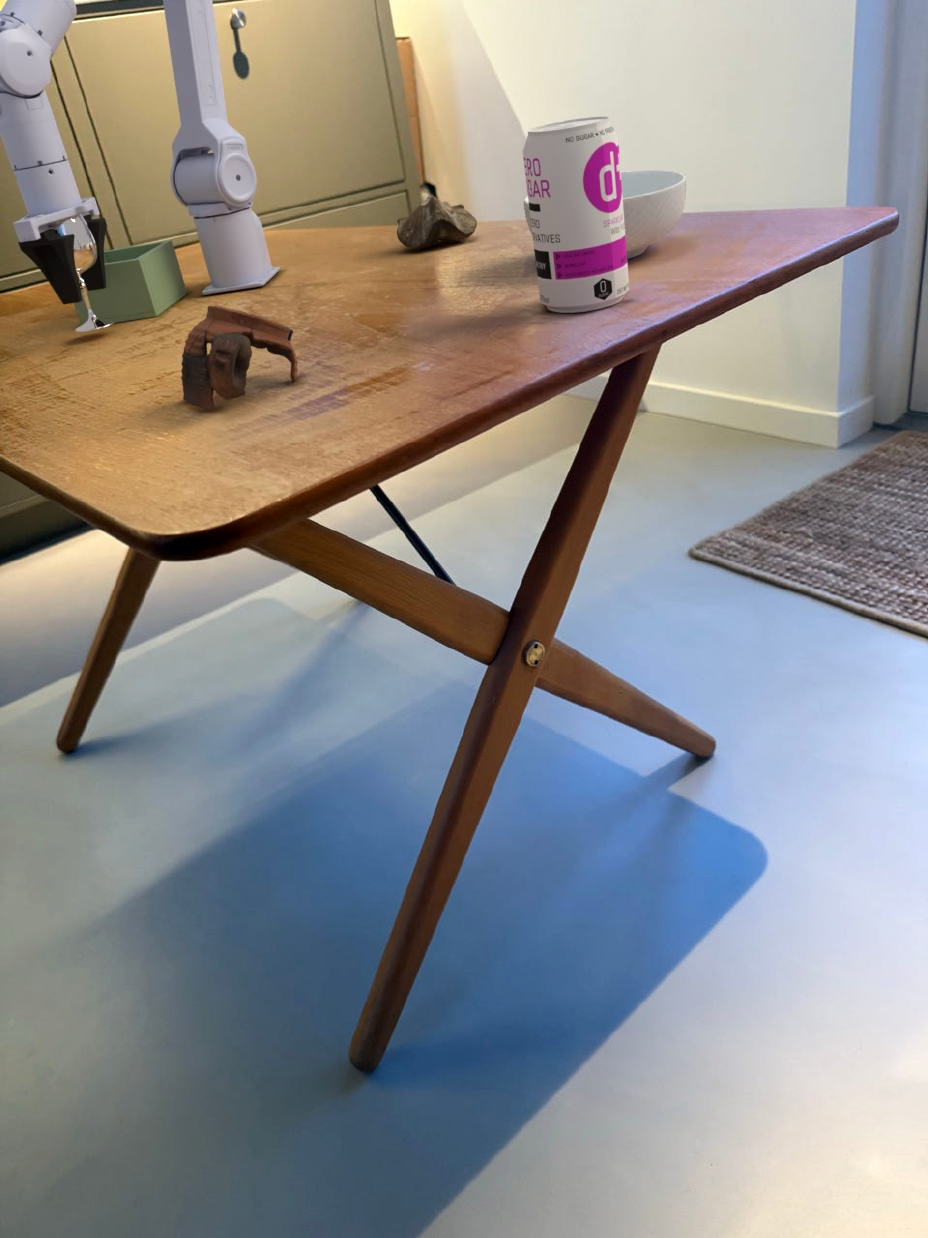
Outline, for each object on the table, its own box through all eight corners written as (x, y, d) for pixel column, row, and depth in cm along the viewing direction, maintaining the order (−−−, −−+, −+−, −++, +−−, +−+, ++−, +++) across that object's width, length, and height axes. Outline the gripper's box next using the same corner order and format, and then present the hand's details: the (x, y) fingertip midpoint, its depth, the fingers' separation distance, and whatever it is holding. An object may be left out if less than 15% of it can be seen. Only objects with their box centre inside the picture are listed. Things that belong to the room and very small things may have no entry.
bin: (117, 303, 131) (100, 251, 127) (187, 293, 129) (172, 239, 126) (81, 327, 121) (62, 271, 118) (156, 316, 119) (139, 259, 116)
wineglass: (102, 331, 111) (64, 216, 105) (59, 335, 113) (19, 223, 107) (130, 316, 116) (95, 206, 110) (88, 321, 118) (51, 212, 112)
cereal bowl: (501, 276, 108) (492, 206, 104) (577, 239, 119) (571, 175, 116) (646, 274, 99) (641, 197, 95) (713, 234, 110) (711, 164, 106)
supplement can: (647, 291, 93) (635, 111, 85) (593, 317, 88) (576, 129, 81) (577, 288, 98) (560, 119, 91) (523, 312, 93) (500, 135, 86)
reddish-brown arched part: (179, 397, 89) (199, 303, 87) (285, 425, 91) (306, 333, 89) (162, 400, 77) (184, 291, 76) (284, 432, 79) (308, 327, 78)
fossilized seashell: (476, 212, 133) (405, 237, 135) (461, 171, 127) (387, 197, 129) (484, 251, 129) (411, 276, 131) (468, 211, 124) (392, 237, 126)
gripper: (40, 168, 99) (87, 307, 106) (105, 150, 111) (144, 276, 118) (-23, 179, 100) (28, 316, 107) (48, 160, 113) (90, 283, 119)
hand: (85, 295), depth 113 cm, fingers closed on wineglass, 5 cm apart
